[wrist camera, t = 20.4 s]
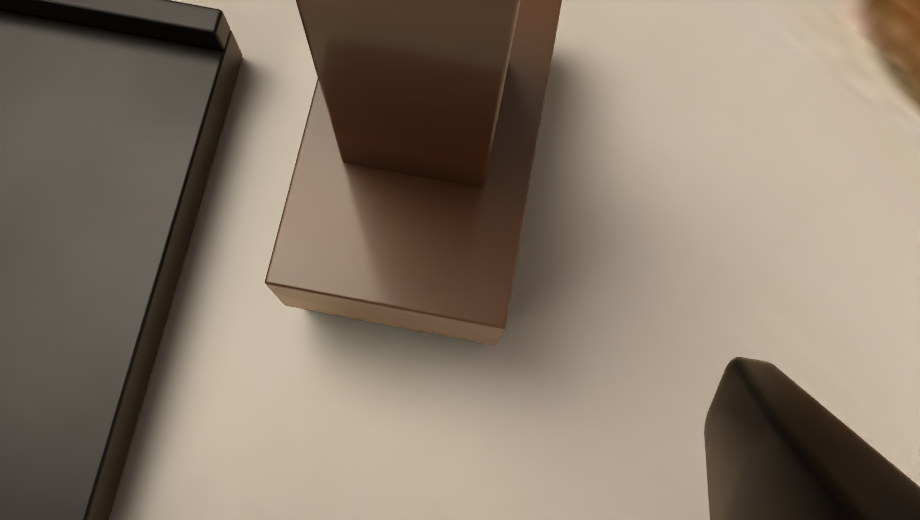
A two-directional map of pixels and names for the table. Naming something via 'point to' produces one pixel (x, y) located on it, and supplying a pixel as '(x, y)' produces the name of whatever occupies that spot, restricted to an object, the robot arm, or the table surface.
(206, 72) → the griddle
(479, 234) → the scrub brush
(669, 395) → the table surface
